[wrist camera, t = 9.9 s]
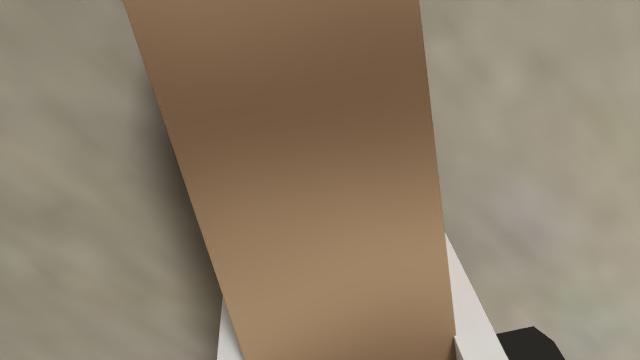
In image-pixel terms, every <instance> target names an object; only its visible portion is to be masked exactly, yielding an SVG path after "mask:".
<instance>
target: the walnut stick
mask: <svg viewBox="0 0 640 360" xmlns="http://www.w3.org/2000/svg"><path fill="white" fill-rule="evenodd" d="M123 3H124V6H125V9H126V11H127V14H128V17H129V20H130V23H131V26H132V29H133V32H134V35H135V38H136V41H137V44H138V47H139V50H140V53H141V56H142V59H143V62H144V64H145V67H146V70H147V73H148V76H149V79H150V82H151V85H152V88H153V91H154V94H155V97H156V100H157V103H158V106H159V109H160V112H161V115H162V117H163V120H164V123H165V126H166V129H167V132H168V135H169V138H170V141H171V144H172V147H173V150H174V153H175V156H176V159H177V162H178V165H179V168H180V171H181V173H182V176H183V179H184V182H185V185H186V188H187V191H188V194H189V197H190V200H191V203H192V206H193V209H194V212H195V215H196V218H197V221H198V224H199V226H200V229H201V232H202V235H203V238H204V241H205V244H206V247H207V250H208V253H209V256H210V259H211V262H212V265H213V268H214V271H215V274H216V277H217V280H218V282H219V285H220V288H221V291H222V294H223V297H224V300H225V303H226V306H227V309H228V312H229V315H230V318H231V321H232V324H233V327H234V330H235V333H236V335H237V338H238V341H239V344H240V347H241V350H242V353H243V356H244V359H245V360H457V358H456V349H455V341H454V336H456V328H455V319H454V311H453V302H452V293H451V284H450V275H449V266H448V257H447V248H446V239H445V230H444V221H443V212H442V203H441V194H440V185H439V176H438V167H437V158H436V149H435V140H434V131H433V122H432V113H431V104H430V95H429V86H428V77H427V68H426V59H425V50H424V42H423V33H422V24H421V15H420V6H419V0H123Z"/></svg>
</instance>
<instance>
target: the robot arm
mask: <svg viewBox="0 0 640 360" xmlns="http://www.w3.org/2000/svg"><path fill="white" fill-rule="evenodd" d="M445 239H446V248H447V257H448V266H449V275H450V284H451V293H452V302H453V311H454V319H455V328H456V336H454V341H455V349H456V358H457V360H565V359H564V357H563V356H562V354H561V352H560V351H559V349H558V347H557V346H556V344H555V343H554V341H552V340H551V339H550V338H548V337H547V336H546V335H544V334H543V333H542V332H540V331H539V330H538V329H536V328H535V327H534V326H533V327H528V328H523V329H518V330H513V331H509V332H504V333H499V334H495V332H494V330H493V328H492V326H491V324H490V322H489V320H488V318H487V316H486V314H485V312H484V310H483V308H482V306H481V304H480V302H479V300H478V298H477V296H476V294H475V292H474V290H473V288H472V286H471V284H470V282H469V280H468V278H467V276H466V274H465V272H464V270H463V268H462V266H461V264H460V262H459V260H458V258H457V256H456V254H455V252H454V250H453V247H452V245H451V243H450V241H449V239H448V237H447V235H446V233H445ZM217 360H245V359H244V356H243V353H242V350H241V347H240V344H239V341H238V338H237V335H236V333H235V330H234V327H233V324H232V321H231V318H230V315H229V312H228V309H227V306H226V303H225V300H224V297H223V298H222V309H221V320H220V332H219V343H218V354H217Z"/></svg>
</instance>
